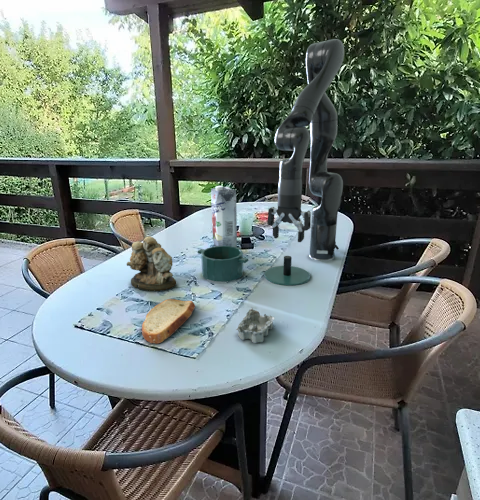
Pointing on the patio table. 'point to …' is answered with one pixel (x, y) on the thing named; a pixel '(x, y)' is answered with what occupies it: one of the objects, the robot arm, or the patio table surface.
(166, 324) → the bread slice
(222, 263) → the pot
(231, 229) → the juice carton
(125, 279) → the patio table surface
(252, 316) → the egg carton
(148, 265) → the owl figurine
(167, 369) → the patio table surface
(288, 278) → the lid
